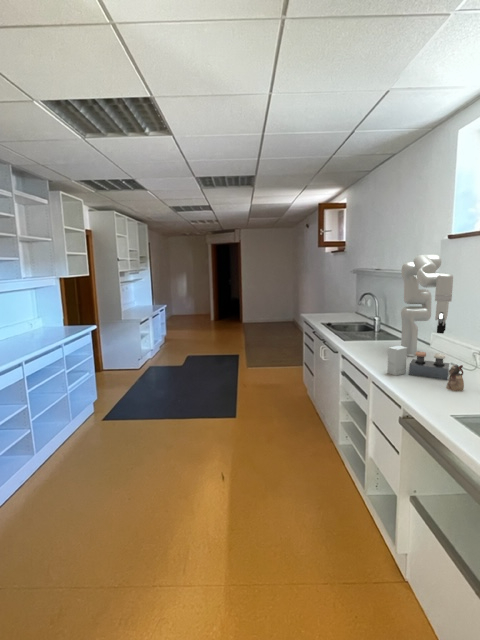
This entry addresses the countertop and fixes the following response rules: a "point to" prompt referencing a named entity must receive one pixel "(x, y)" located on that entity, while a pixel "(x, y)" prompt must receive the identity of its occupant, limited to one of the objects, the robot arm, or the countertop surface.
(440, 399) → the countertop surface
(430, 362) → the housing
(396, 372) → the skincare box
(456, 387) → the figurine
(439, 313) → the robot arm
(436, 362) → the knob
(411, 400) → the countertop surface
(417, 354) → the knob
